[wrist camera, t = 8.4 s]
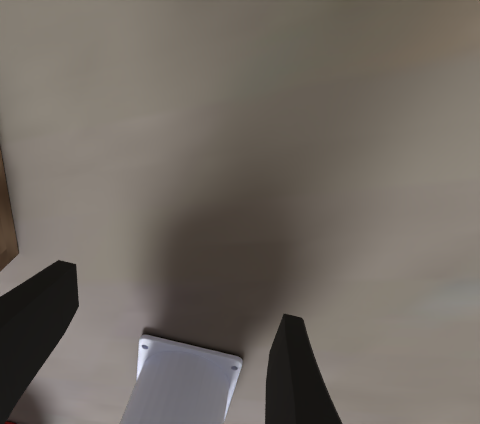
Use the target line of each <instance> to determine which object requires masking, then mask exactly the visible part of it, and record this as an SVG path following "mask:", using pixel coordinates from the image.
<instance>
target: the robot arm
mask: <svg viewBox="0 0 480 424" xmlns="http://www.w3.org/2000/svg"><path fill="white" fill-rule="evenodd" d="M78 307H79V301H78V286H77V271H76V264H73V263H68V262H64V261H60V260H58V261H56V262H55V263H53V264H52V265H50V266H48V267H47V268H45V269H44V270H42V271H41V272H39V273H37V274H36V275H34V276H33V277H31V278H30V279H28V280H27V281H25V282H23V283H22V284H20V285H19V286H17V287H15V288H14V289H12V290H11V291H9V292H7V293H6V294H4V295H2V296H1V297H0V424H5V422H6V420H7V419H8V417H9V415H10V413H11V412H12V410H13V408H14V406H15V405H16V403H17V402H18V400H19V399H20V397H21V396H22V394H23V393H24V391H25V390H26V388H27V387H28V385H29V384H30V383H31V381H32V380H33V378H34V377H35V375H36V374H37V373H38V371H39V370H40V368H41V367H42V365H43V364H44V362H45V361H46V360H47V358H48V357H49V355H50V354H51V352H52V351H53V350H54V348H55V347H56V345H57V344H58V342H59V341H60V339H61V338H62V336H63V335H64V333H65V332H66V330H67V328H68V326H69V324H70V322H71V320H72V319H73V317H74V315H75V313H76V311H77V309H78ZM242 362H243V360H242V359H241V358H240V357H238V356H235V355H230V354H226V353H222V352H218V351H214V350H209V349H205V348H201V347H197V346H193V345H188V344H184V343H180V342H176V341H172V340H167V339H163V338H159V337H155V336H151V335H142V336H141V337H140V340H139V350H138V365H137V380H136V384H135V386H134V389H133V391H132V394H131V396H130V399H129V401H128V404H127V406H126V409H125V411H124V414H123V416H122V419H121V421H120V424H223V423H224V420H225V417H226V414H227V411H228V408H229V405H230V402H231V398H232V395H233V392H234V389H235V386H236V383H237V380H238V377H239V373H240V370H241V367H242ZM265 424H342V422H341V420H340V418H339V415H338V413H337V411H336V409H335V407H334V404H333V402H332V400H331V398H330V395H329V393H328V391H327V388H326V386H325V383H324V381H323V378H322V376H321V373H320V370H319V368H318V365H317V362H316V359H315V357H314V354H313V351H312V348H311V345H310V341H309V338H308V335H307V331H306V327H305V324H304V320H303V319H302V318H301V317H296V316H292V315H288V314H284V315H283V317H282V320H281V323H280V325H279V328H278V331H277V333H276V336H275V339H274V342H273V344H272V347H271V350H270V354H269V361H268V369H267V378H266V409H265Z"/></svg>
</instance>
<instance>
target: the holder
mask: <svg viewBox="0 0 480 424" xmlns="http://www.w3.org/2000/svg"><path fill="white" fill-rule="evenodd" d="M18 254H19V252H18V246H17V240H16V235H15V229H14V223H13V218H12V212H11V206H10V200H9V195H8V189H7V183H6V177H5V172H4V166H3V160H2V155H1V149H0V271H1V270H2V269H3V268H4V267H5V266H6V265H7V264H9V263H10V262H11V261H12V260H13V259H14V258H15V257H16V256H17V255H18Z"/></svg>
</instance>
